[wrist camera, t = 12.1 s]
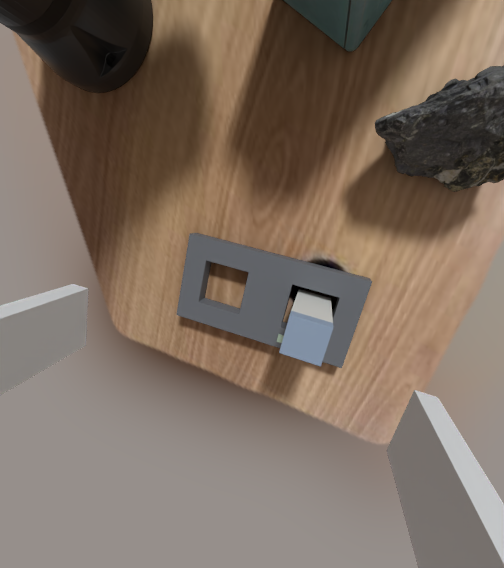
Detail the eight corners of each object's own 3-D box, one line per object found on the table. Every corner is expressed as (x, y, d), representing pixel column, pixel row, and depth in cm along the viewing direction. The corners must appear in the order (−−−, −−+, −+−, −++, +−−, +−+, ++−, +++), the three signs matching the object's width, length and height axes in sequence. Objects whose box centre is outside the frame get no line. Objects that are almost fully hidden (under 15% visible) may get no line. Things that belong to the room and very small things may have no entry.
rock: (540, 34, 24) (587, 25, 16) (546, 150, 27) (587, 183, 20) (383, 110, 31) (368, 126, 24) (404, 193, 35) (397, 228, 27)
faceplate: (183, 310, 40) (175, 315, 38) (196, 232, 37) (189, 233, 35) (340, 360, 36) (341, 368, 34) (369, 278, 33) (372, 282, 31)
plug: (290, 318, 37) (279, 352, 27) (298, 289, 36) (289, 314, 26) (321, 327, 36) (320, 366, 27) (330, 298, 35) (333, 327, 25)
